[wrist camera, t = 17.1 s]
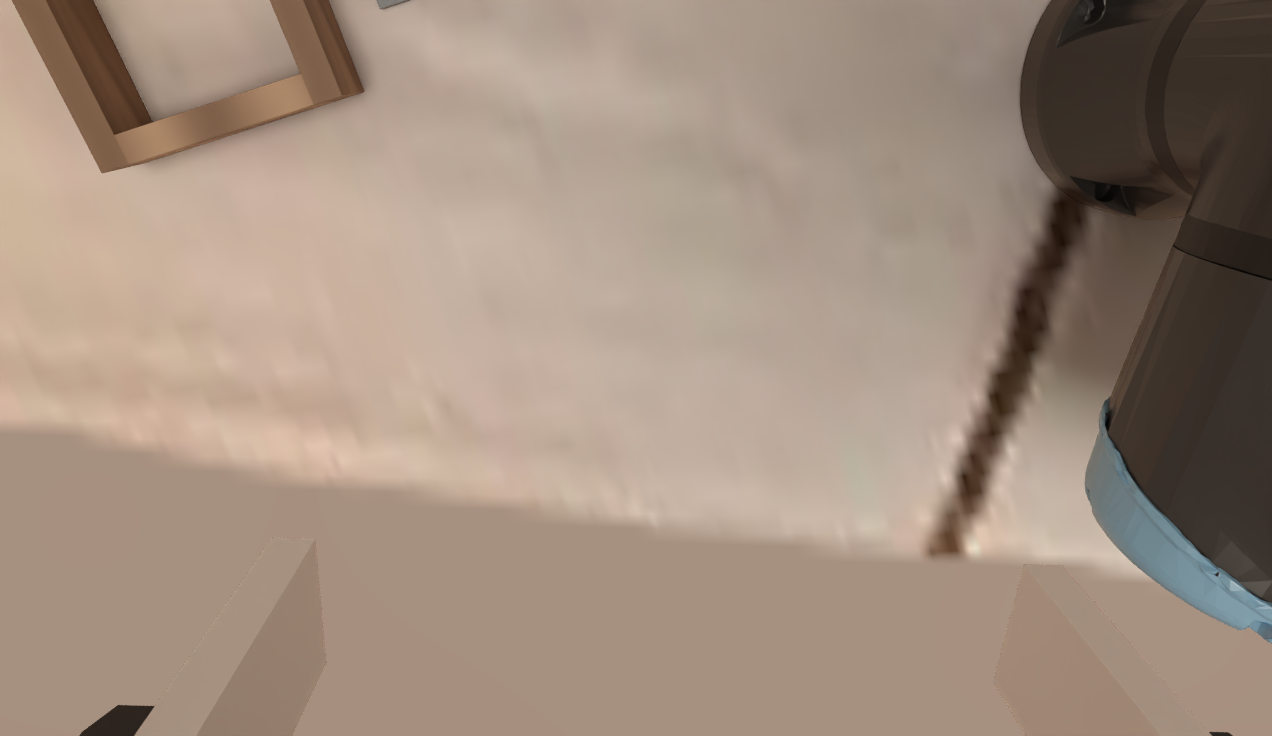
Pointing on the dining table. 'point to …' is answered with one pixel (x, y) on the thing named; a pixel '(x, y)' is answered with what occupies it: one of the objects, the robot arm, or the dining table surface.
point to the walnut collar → (128, 137)
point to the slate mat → (389, 3)
